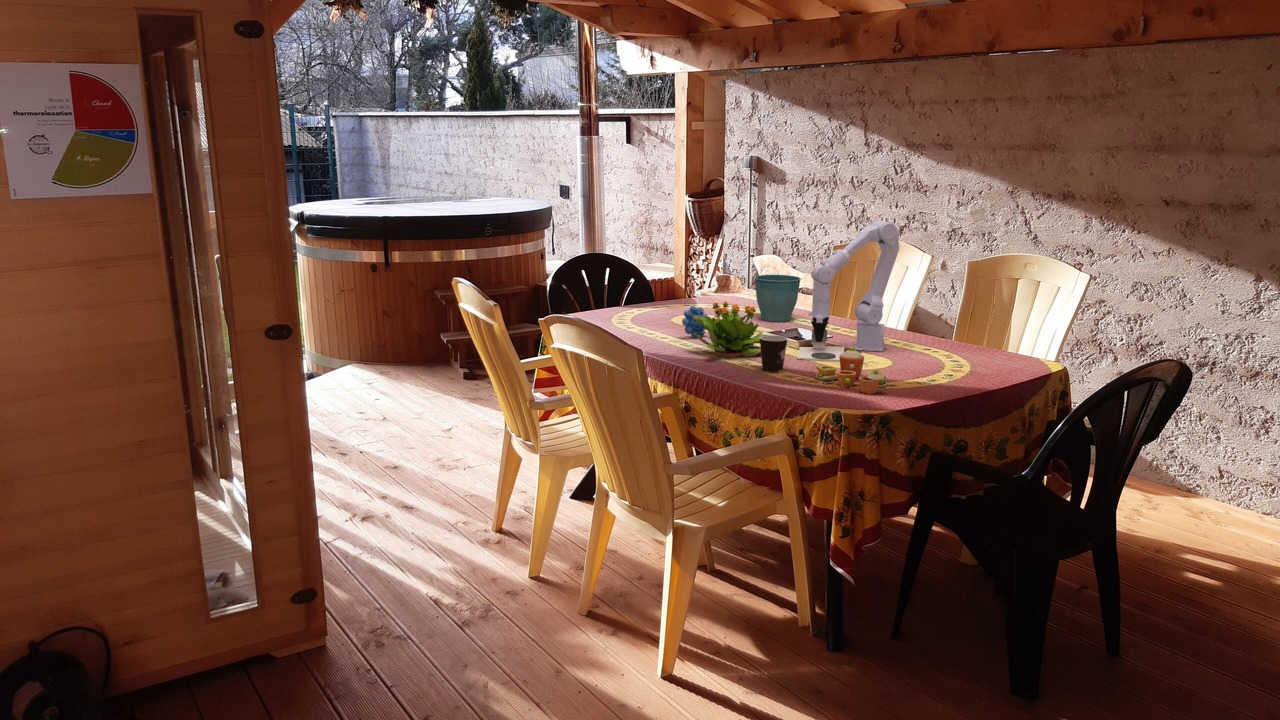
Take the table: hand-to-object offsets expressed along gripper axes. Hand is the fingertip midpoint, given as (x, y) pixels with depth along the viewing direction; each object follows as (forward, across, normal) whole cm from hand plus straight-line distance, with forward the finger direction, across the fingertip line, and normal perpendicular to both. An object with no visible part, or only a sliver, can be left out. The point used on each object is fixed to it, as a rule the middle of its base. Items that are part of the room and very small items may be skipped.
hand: (819, 339), depth 324 cm
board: (+4, +5, +1) cm, 6 cm away
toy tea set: (+4, +42, +13) cm, 44 cm away
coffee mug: (+4, +29, -12) cm, 32 cm away
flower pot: (+4, -53, -19) cm, 56 cm away
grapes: (+4, -10, -44) cm, 45 cm away
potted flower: (+4, +13, -30) cm, 33 cm away
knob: (0, 0, 0) cm, 0 cm away
